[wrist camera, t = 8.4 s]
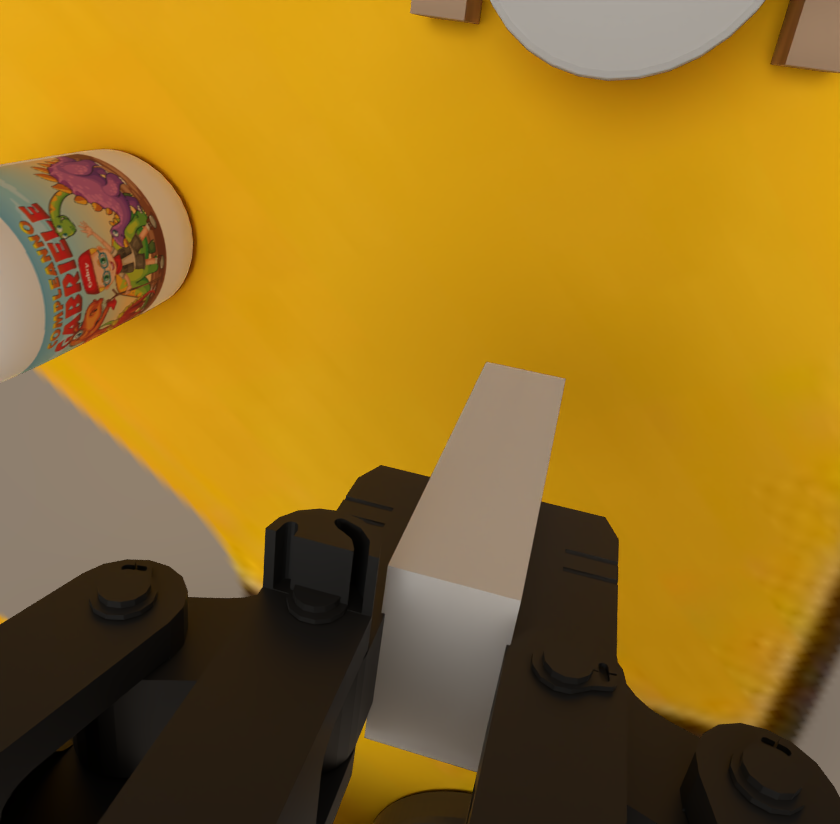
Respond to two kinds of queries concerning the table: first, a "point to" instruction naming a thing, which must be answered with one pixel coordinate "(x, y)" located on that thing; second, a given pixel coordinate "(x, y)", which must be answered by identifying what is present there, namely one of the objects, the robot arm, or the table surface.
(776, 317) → the table surface
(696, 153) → the table surface
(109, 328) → the milk bottle
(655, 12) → the canned food
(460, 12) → the wooden u-shaped frame
